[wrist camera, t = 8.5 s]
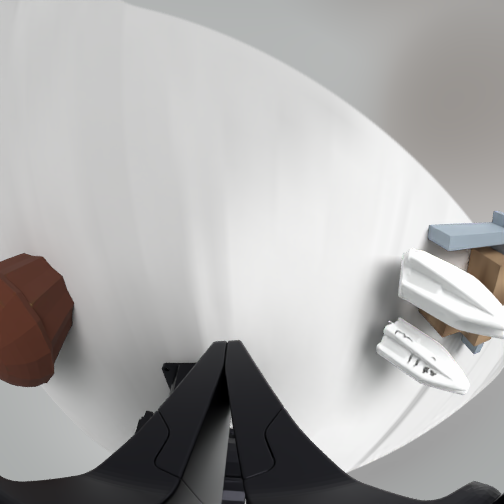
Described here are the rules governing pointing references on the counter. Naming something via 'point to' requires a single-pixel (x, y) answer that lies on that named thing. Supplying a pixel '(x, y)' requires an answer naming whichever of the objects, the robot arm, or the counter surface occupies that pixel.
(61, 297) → the muffin
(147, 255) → the counter surface
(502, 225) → the corner fence
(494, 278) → the T block
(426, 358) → the salt and pepper shakers
